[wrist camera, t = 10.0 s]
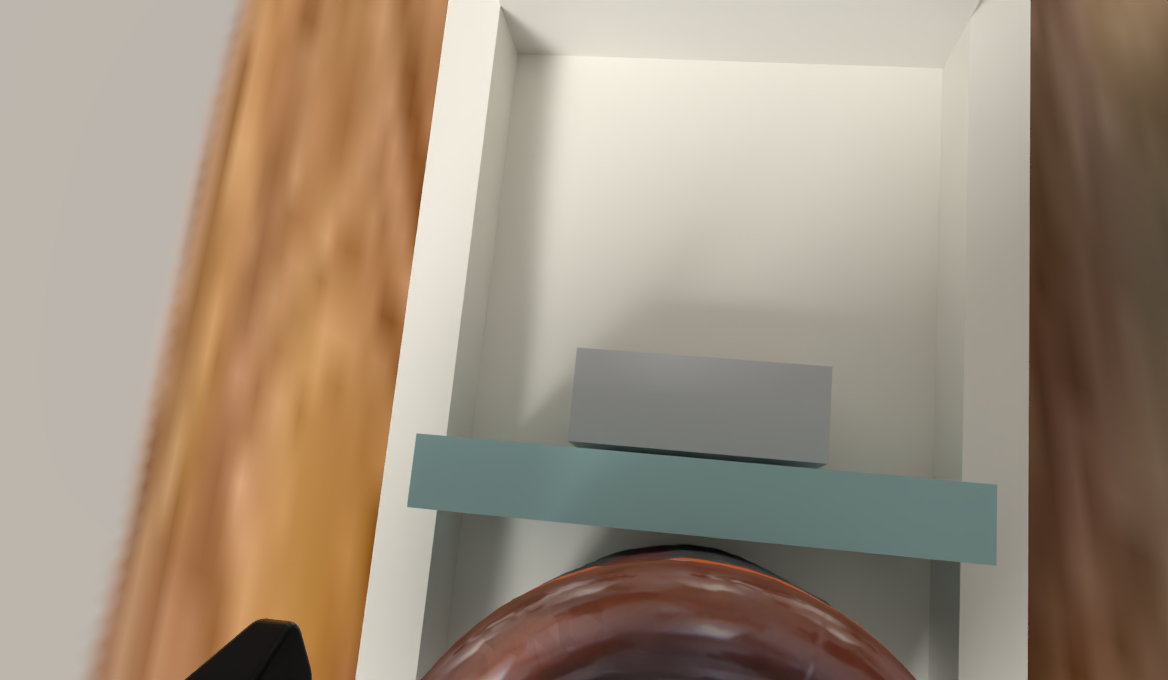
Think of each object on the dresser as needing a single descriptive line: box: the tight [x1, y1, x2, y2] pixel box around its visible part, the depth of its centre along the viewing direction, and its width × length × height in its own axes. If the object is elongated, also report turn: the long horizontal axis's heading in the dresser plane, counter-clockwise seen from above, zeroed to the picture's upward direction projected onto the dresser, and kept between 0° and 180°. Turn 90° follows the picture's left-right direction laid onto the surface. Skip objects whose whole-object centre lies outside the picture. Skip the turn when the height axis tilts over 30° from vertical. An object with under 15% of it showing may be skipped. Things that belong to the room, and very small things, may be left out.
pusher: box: [407, 348, 997, 566], centre depth 14 cm, size 3×8×4 cm, turn 85°
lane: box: [355, 0, 1031, 680], centre depth 14 cm, size 20×10×7 cm, turn 174°
